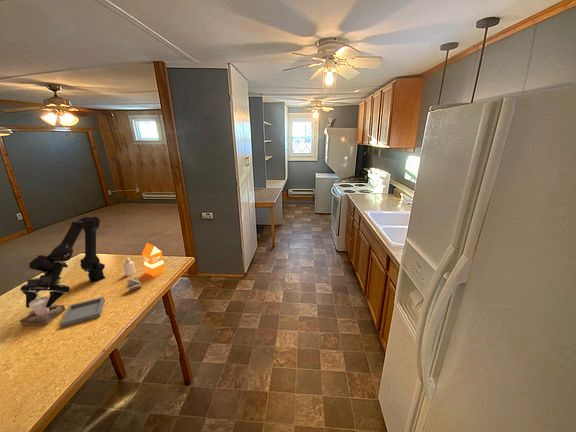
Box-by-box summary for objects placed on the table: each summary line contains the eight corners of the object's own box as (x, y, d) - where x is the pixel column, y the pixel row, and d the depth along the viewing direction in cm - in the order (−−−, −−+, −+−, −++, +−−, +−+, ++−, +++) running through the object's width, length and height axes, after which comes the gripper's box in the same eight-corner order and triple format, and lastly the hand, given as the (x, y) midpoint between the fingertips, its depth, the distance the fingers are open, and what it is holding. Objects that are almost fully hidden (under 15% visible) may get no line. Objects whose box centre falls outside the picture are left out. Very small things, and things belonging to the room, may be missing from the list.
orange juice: (153, 277, 147) (147, 248, 141) (145, 272, 152) (140, 244, 145) (165, 271, 154) (160, 243, 147) (157, 267, 158) (152, 240, 152)
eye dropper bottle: (125, 273, 150) (121, 257, 147) (135, 271, 154) (132, 254, 150) (125, 276, 147) (121, 259, 143) (136, 274, 150) (132, 257, 146)
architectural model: (141, 290, 135) (139, 279, 133) (127, 294, 131) (124, 283, 129) (140, 287, 138) (138, 276, 135) (126, 291, 134) (124, 280, 131)
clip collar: (44, 309, 118) (42, 303, 117) (65, 310, 118) (63, 303, 117) (21, 325, 108) (19, 319, 107) (45, 325, 108) (42, 319, 107)
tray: (70, 309, 119) (69, 305, 118) (104, 300, 125) (103, 296, 125) (62, 327, 107) (60, 323, 107) (100, 316, 114) (99, 312, 113)
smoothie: (57, 314, 115) (48, 290, 111) (40, 323, 109) (30, 298, 105) (48, 311, 117) (40, 287, 113) (32, 320, 111) (22, 295, 107)
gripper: (17, 270, 109) (-2, 305, 102) (57, 270, 110) (41, 305, 103) (39, 275, 119) (23, 308, 112) (76, 275, 120) (62, 308, 112)
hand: (37, 307), depth 110 cm, fingers open, 9 cm apart
